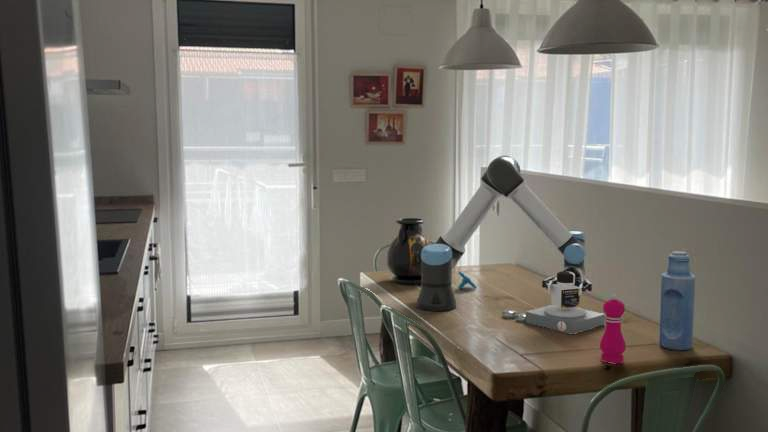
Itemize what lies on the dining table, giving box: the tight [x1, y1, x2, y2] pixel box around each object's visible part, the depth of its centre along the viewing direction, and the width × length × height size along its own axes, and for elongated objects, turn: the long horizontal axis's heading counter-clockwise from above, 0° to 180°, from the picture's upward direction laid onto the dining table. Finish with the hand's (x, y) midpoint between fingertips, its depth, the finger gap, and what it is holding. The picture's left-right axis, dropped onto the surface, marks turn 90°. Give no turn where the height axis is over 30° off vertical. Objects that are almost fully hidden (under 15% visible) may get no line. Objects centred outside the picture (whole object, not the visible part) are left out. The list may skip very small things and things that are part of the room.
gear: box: [458, 271, 478, 290], centre depth 302 cm, size 11×6×10 cm
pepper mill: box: [599, 294, 627, 364], centre depth 206 cm, size 7×7×20 cm
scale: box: [525, 304, 606, 334], centre depth 246 cm, size 18×20×5 cm
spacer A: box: [502, 309, 518, 320], centre depth 257 cm, size 5×5×2 cm
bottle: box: [658, 250, 696, 352], centre depth 219 cm, size 10×10×30 cm
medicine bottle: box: [550, 270, 581, 309], centre depth 245 cm, size 7×7×12 cm
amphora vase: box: [385, 217, 432, 286], centre depth 315 cm, size 22×22×28 cm
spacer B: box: [516, 313, 526, 323], centre depth 252 cm, size 5×5×2 cm
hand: (564, 290), depth 241 cm, fingers closed on medicine bottle, 10 cm apart
